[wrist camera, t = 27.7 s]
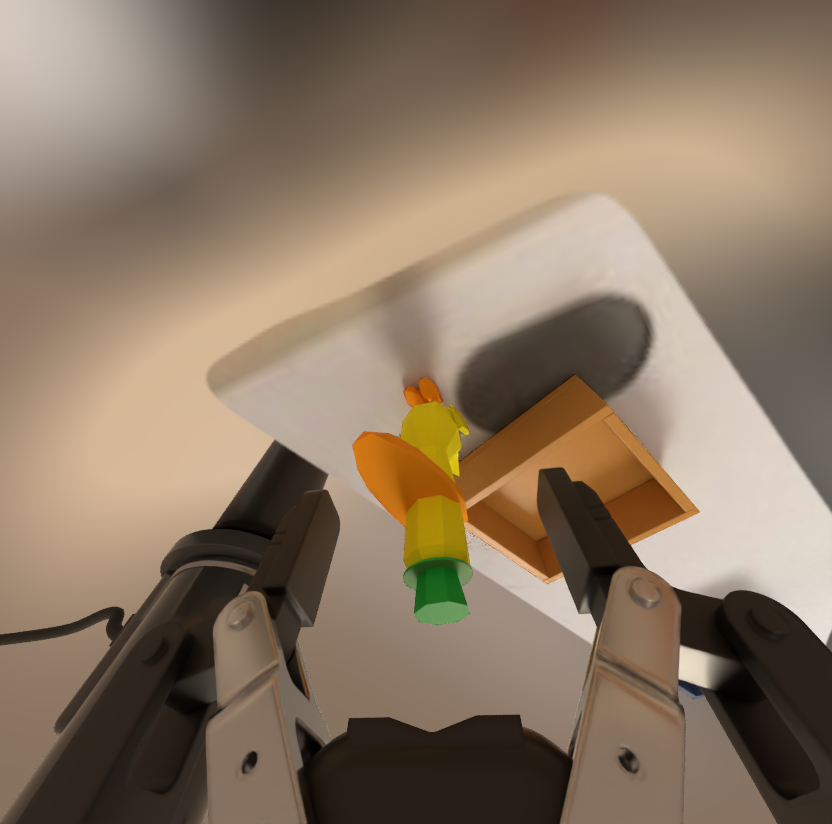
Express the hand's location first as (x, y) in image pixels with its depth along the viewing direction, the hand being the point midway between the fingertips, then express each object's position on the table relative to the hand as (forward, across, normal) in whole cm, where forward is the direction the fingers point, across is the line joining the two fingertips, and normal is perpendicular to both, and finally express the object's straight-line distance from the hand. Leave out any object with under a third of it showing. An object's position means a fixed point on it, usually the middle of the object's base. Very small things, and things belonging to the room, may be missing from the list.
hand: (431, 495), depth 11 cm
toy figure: (+8, 0, 0) cm, 8 cm away
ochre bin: (+8, -8, +8) cm, 14 cm away
